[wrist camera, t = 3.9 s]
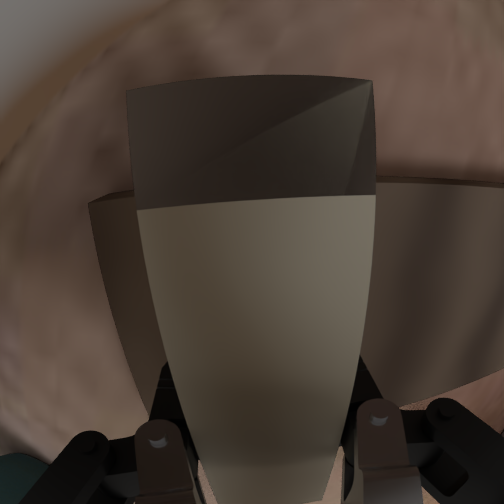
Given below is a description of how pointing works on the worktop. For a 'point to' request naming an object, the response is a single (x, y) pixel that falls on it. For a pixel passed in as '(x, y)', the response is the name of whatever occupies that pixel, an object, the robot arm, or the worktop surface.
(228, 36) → the worktop surface
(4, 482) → the plant pot
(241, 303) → the beige wooden block
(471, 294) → the walnut plank
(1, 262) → the worktop surface
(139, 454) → the robot arm
